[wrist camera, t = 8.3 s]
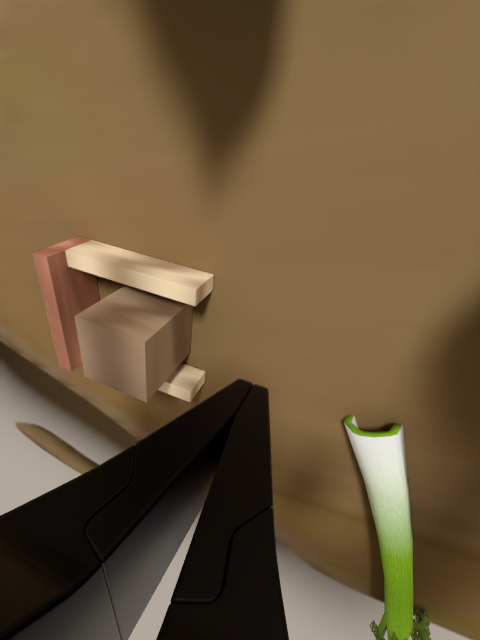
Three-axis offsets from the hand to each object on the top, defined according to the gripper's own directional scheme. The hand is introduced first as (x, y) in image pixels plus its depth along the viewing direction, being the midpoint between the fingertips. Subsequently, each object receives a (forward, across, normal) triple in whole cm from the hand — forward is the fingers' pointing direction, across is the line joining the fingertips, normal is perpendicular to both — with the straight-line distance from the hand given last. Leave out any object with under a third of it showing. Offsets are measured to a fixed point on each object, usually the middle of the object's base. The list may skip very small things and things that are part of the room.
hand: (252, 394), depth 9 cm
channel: (+12, +12, +8) cm, 18 cm away
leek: (+13, -12, +24) cm, 30 cm away
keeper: (+12, +10, +8) cm, 18 cm away
